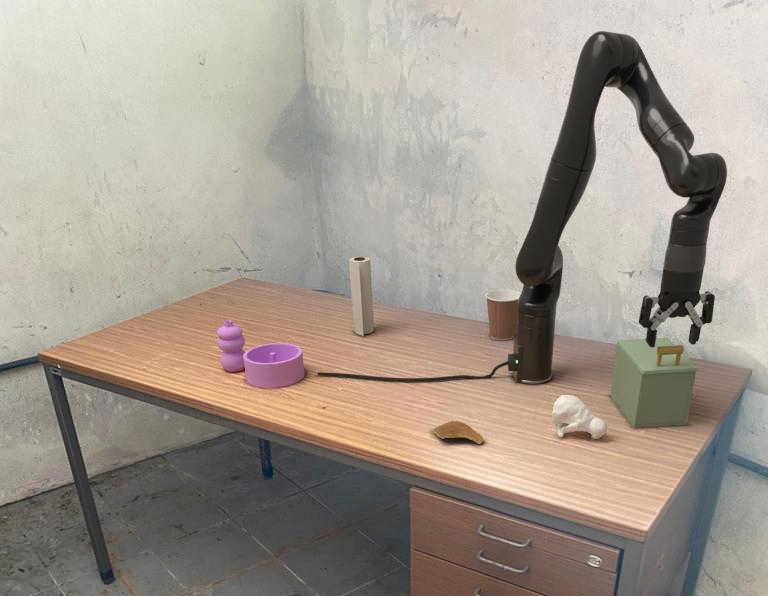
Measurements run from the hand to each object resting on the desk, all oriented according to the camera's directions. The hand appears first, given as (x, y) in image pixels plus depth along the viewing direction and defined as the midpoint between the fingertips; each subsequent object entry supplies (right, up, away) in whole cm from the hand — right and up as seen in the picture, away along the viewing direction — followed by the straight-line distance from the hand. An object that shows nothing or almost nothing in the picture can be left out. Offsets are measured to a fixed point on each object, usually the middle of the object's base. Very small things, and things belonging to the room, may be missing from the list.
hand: (671, 344), depth 158 cm
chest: (0, -11, +16) cm, 20 cm away
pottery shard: (-44, -18, +9) cm, 48 cm away
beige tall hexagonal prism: (-66, +19, +69) cm, 98 cm away
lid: (0, -1, +9) cm, 9 cm away
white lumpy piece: (-18, -18, +7) cm, 26 cm away
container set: (-93, +2, +45) cm, 103 cm away
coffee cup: (-26, +16, +61) cm, 68 cm away
